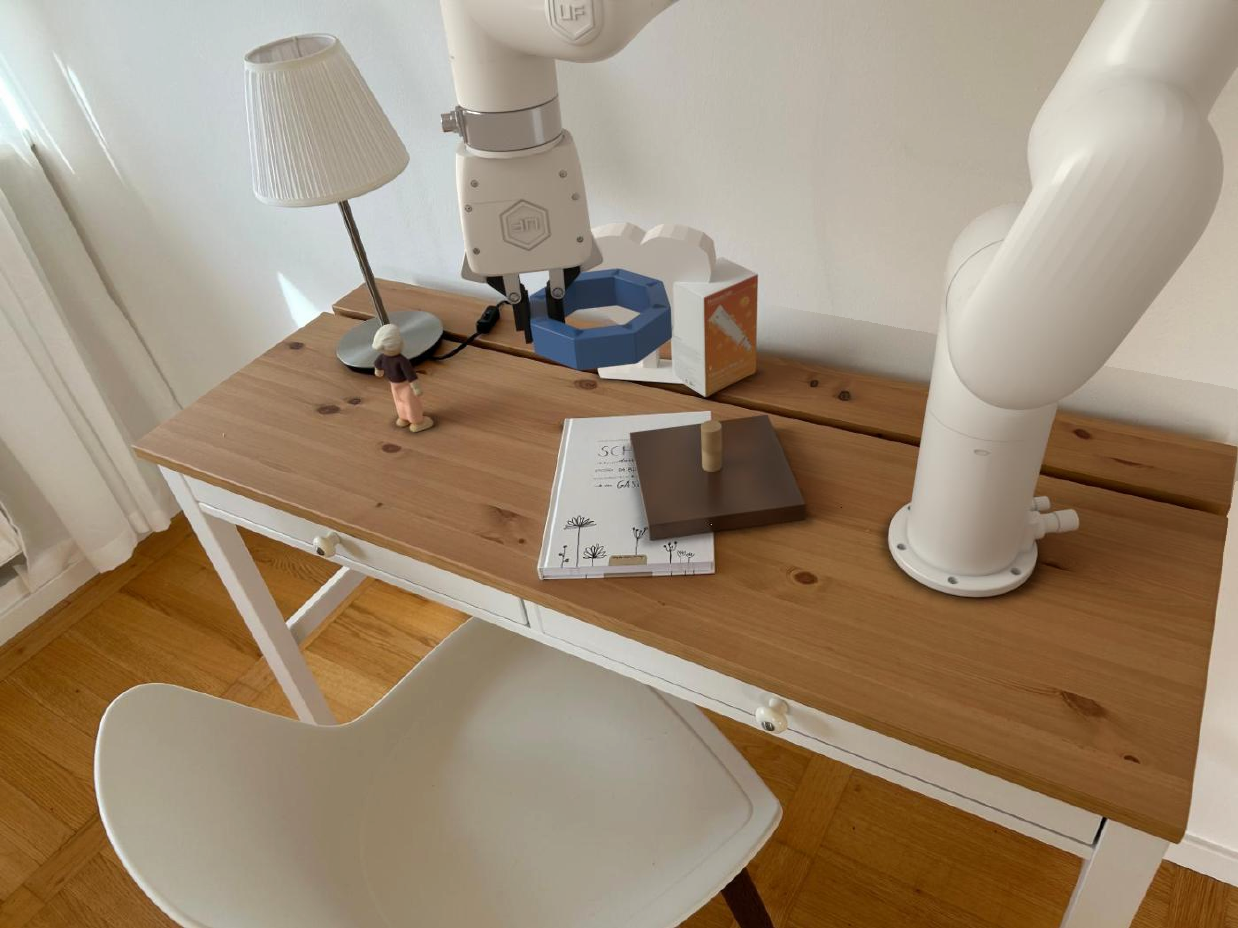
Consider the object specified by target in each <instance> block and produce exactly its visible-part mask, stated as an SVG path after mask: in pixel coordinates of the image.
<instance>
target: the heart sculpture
mask: <svg viewBox="0 0 1238 928" xmlns="http://www.w3.org/2000/svg"><path fill="white" fill-rule="evenodd" d="M590 229H591V232H592V234H593V236H594V237H595V239H596V241H597V243H598V245H599V247H600V249H601V251H602V255H603V262H602V263H601V264H600V265H598V266H596V267H594V268H592V269H590V270H588V271H586V272H591V271H599V270H608V269H617V268H619V269H624V270H627V271H630V272H634V273H637V274H640V275H644V276H647V277H650V278H654V279H657V280H660V281H663V284H664V287H665V290H666V293H667V296H668V300H669V303H670V306H671V321H672V327H673V326H674V304H673V283H674V282H698V283H709V282H710V279H711V277H712V274H713V271H714V268H715V262H716V259H717V253H716V248H715V247H716V246H715V242H714V239H713V238H711V237H710V236H709V235H708V234H706V232H704V231H701V230H699V229H696V228H693V227H691V226H686V225H682V224H679V223H666V222H665V223H661V224H658V225H656V226H653V227H652V228H650V229H649V230H647V231H646V230H644V229H642V228H641V227H639V226H638V225H636V224H633V223H630V222H624V221H623V222H619V221H618V222H612V223H611V222H610V223H606V224H602V225H599V226H596V227H593V228H590ZM596 309H597V310H598V311H600V312H601V313H602V314H604V315H605V316H606V317H608V318H609V320H611V321H613V322H614V323H616V324H617V325H622V324H626V323H627V322H629V321H630V320H632V319H633V318H635V317H636V316H638V315H639V314H641V313H638V312H635V311H632V310H629V309H626V308H623V307H620V306H617V305H616V306H608V307H599V308H596ZM597 372H598V376H599V378H600V379H609V380H610V379H611V380H625V381H638V382H639V381H641V382H654V383H667V384H683V385H685V384H684V383H683V382H682V381H681V380H680V379H679V378H678V377H677V376H675V375H674V374H673V372H672V359H663V358H661V355H660V347H659V348H657V349H656V350H655V351H653V352H652V353H651V354H649V355H648V356H647V357H645V358H644V359H642V360H641V361H640V362H638V363H636V364H629V365H621V366H612V367H604V368H597Z"/></svg>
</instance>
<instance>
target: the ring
mask: <svg viewBox="0 0 1238 928" xmlns="http://www.w3.org/2000/svg"><path fill="white" fill-rule="evenodd" d="M546 287H547V285H545V286H543V287H541V289H539V290H537V291H535V292H533V293H532V294H530V295H529V302H530V324H531V330H532V337H533V342H532V344H533V350H534V354H536V355H538V356H540V357H542V358H546V359H548V360H550V361H553V362H556V363H558V364H561V365H563V366H566V367H568V368H571V369H574V370H577V371H586V370H594V369H598V368H604V367H612V366H621V365H629V364H636V363H638V362H640V361H641V360H642V359H644V358H645V357H647V356H648V355H649V354H651V353H652V352H653V351H655V350H656V349H657V348H659V349H660V347H662V346H663V345H664V344H666V343H667V342H668V341H671V338H672V321H671V306H670V303H669V300H668V296H667V293H666V290H665V287H664V284H663V281H660V280H657V279H654V278H650V277H647V276H644V275H640V274H637V273H634V272H630V271H627V270H624V269H619V268H617V269H608V270H599V271H591V272H582V273H580V275H579V276H578V277H577V278H576V279H575V280H574V282H573V283H572V284H571V285H570V286H569V287H568V289H567V290H566V291H565V295H564V296H563V297H562V299H563V307H564V315H565V319H566V318H567V317H569V316H570V315H572V314H574V313H575V312H577V311H580V310H589V309H597V308H599V307H608V306H616V305H617V306H620V307H623V308H626V309H629V310H632V311H635V312H638V313H641V314H639V315H638V316H636V317H635V318H633V319H632V320H630V321H629V322H627V323H626V324H622V325H620V324H613V325H608V326H607V325H606V326H597V327H589V328H578V327H575V326H574V325H573V326H572V325H570V324H567V323H566V324H564V323H562V322H559V321H556V320H553V319H550V318H549V316H548V312H547V305H546V295H545V288H546Z"/></svg>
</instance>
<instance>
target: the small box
mask: <svg viewBox="0 0 1238 928" xmlns="http://www.w3.org/2000/svg"><path fill="white" fill-rule="evenodd" d="M758 286H759V274H758V273H757V272H755V271H752V270H750V269H748V268H746V267H745V266H742V265H740V264H738V263H736V262H734V261H731V260H729V259H728V258H725V257H723V256H720V257H719V258H716V262H715V268H714V271H713V274H712V277H711V279H710V282H709V283H698V282H674V283H673V304H674V326H673V327H672V338H671V339H670V348H671V349H670V351H671V352H670V353H671V360H672V372H673V374H674V375H675V376H677V377H678V378H679V379H680V380H681V381H682V382H683V383H684V384H683V385H685V386H686V387H688V388H690V389H691V390H693V391H694V392H696V393H698V394H700V395H701V396H702V397H704V398H708V397H710V396H711V395H713V394H716V393H717V392H718V391H721V390H724V389H725V388H727V387H728V386H730V385H733V384H735V383H737V382H739V381H741V380H743V379H745V378H747V377H749V376H752V375H754V374H755V373H756V371H757V340H758V339H757V336H758V334H757V332H758V331H757V330H758V293H759V292H758Z"/></svg>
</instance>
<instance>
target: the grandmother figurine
mask: <svg viewBox="0 0 1238 928" xmlns="http://www.w3.org/2000/svg"><path fill="white" fill-rule="evenodd" d="M401 335H402V332H401V330H400V327H399V326H397V325H396V324H394V323H388V324H387V323H386V324H384V325H383V326H381V327H379V328H378V330H377V331H376V333H375V335H374V337H373V343H372V345H371V346H372V349H373V350H374V351H381V352H382V353H381V354H379V355H378V356H377V357H376V358H375V360H374V361H373V365H374V374H375V376H376V377H379V378H381V377H383V376H385V378H386V380H388V382H389V384H390V387H391V393H392V397H393V401H394V404H395V407H396V412H397V414H398V418H397V420H396V425H397V427H402V428H404V427H407V426H409V430H410V431H411V432H412V433H418V432H421V431H423V430H428V429H429V428H432V426H433V425H434V421H433V420H432V419H431V417H429V416H426V415H423V414H424V412H425V407H424V405H423V403H422V401H421V398H420V397H421V396H422V395H423V394H424V390H423V388H422V387H421V383H420V380H419V377H418V375H417V372H416V371H415V370H414V367H413V366H412V363H411V361H410V359H409V358H407V357H406V355H403V353H402V351H403V349H404V340H403V338H402V336H401Z"/></svg>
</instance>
